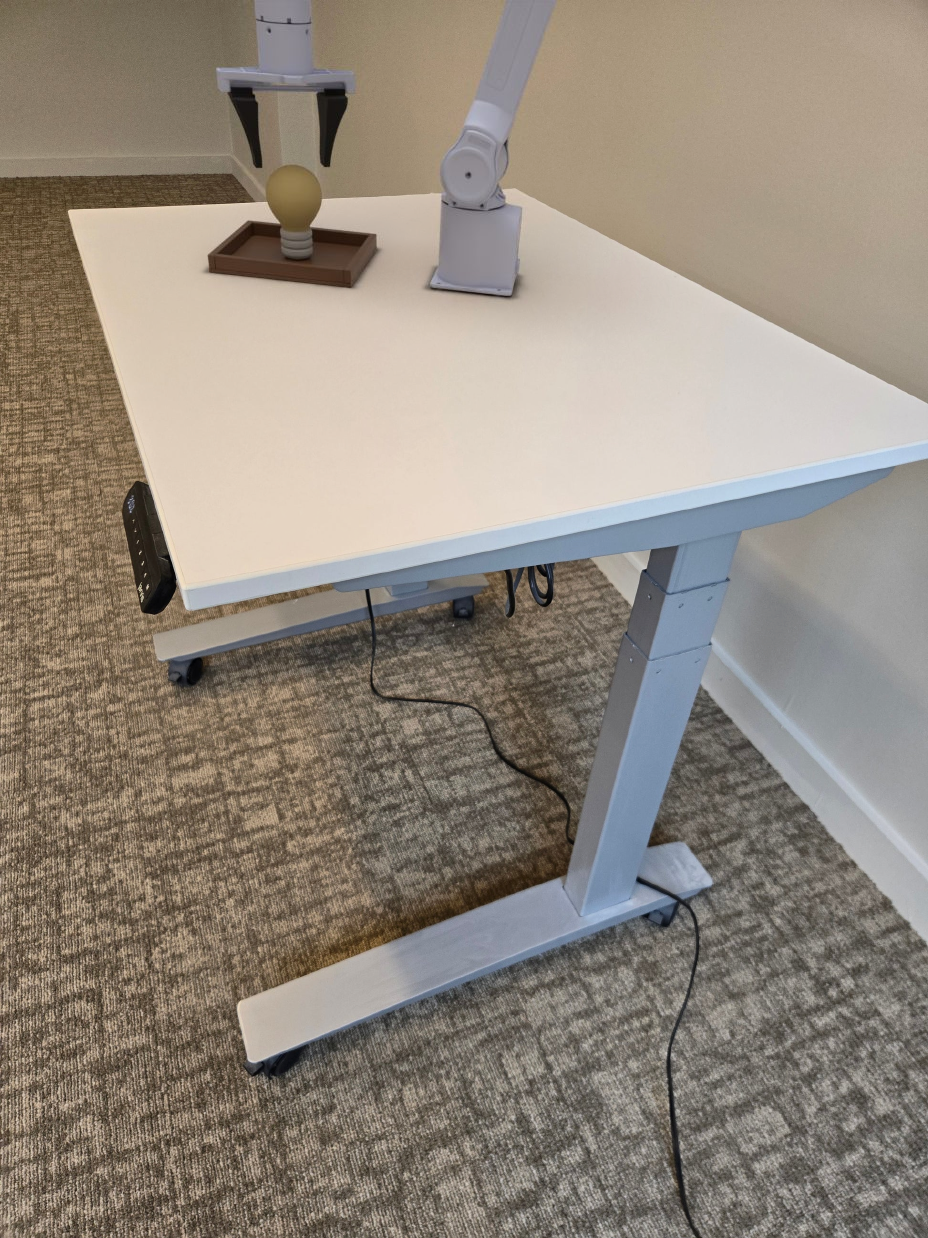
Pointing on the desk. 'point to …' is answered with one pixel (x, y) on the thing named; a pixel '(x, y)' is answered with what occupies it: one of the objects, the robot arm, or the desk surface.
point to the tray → (262, 257)
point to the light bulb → (294, 207)
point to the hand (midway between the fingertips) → (291, 165)
